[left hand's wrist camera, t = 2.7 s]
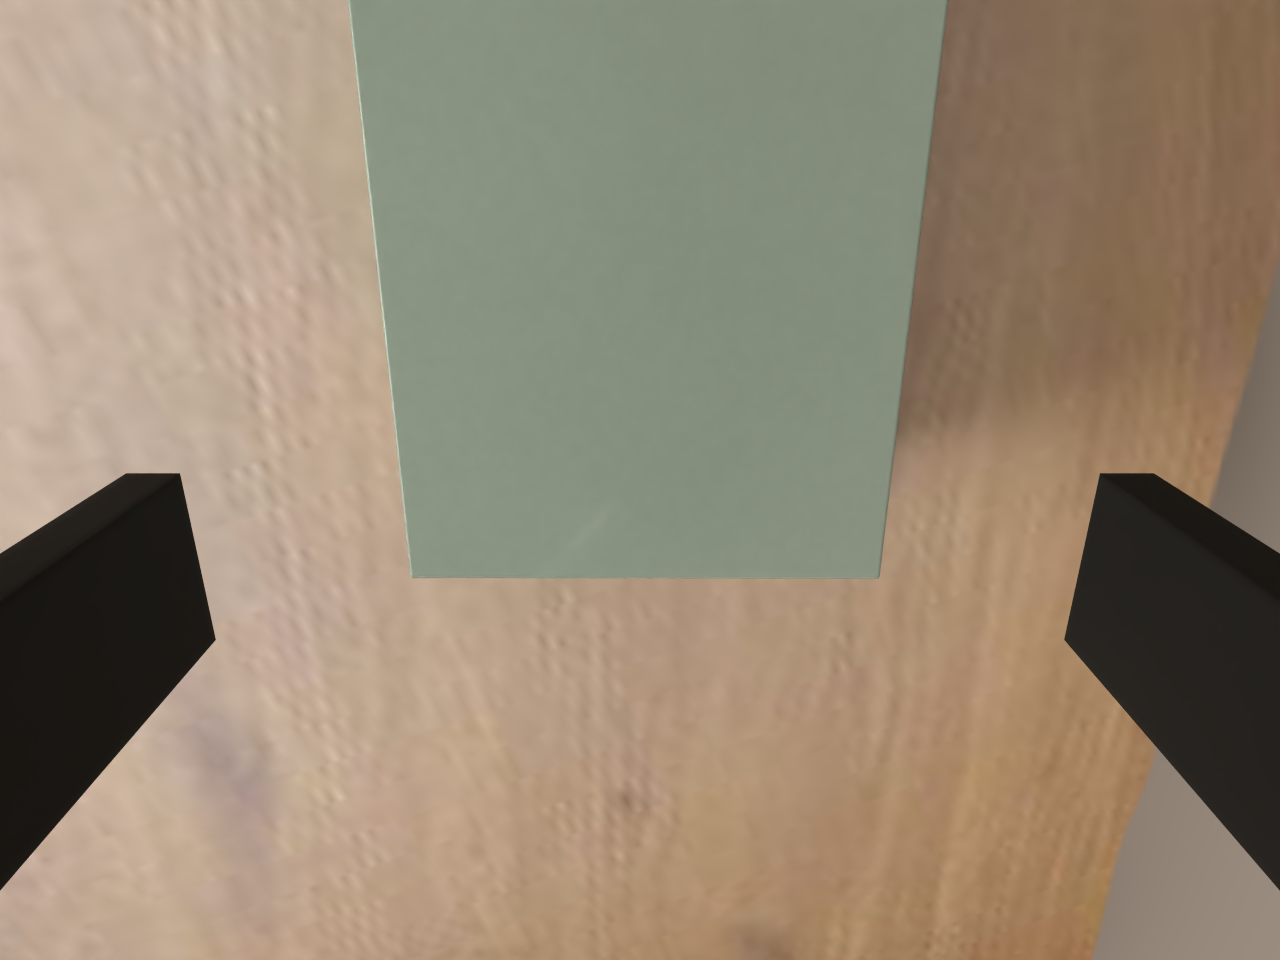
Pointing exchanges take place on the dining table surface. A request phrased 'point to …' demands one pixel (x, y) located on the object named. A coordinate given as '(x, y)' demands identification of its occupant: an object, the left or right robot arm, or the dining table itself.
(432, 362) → the cabinet
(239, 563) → the dining table surface
